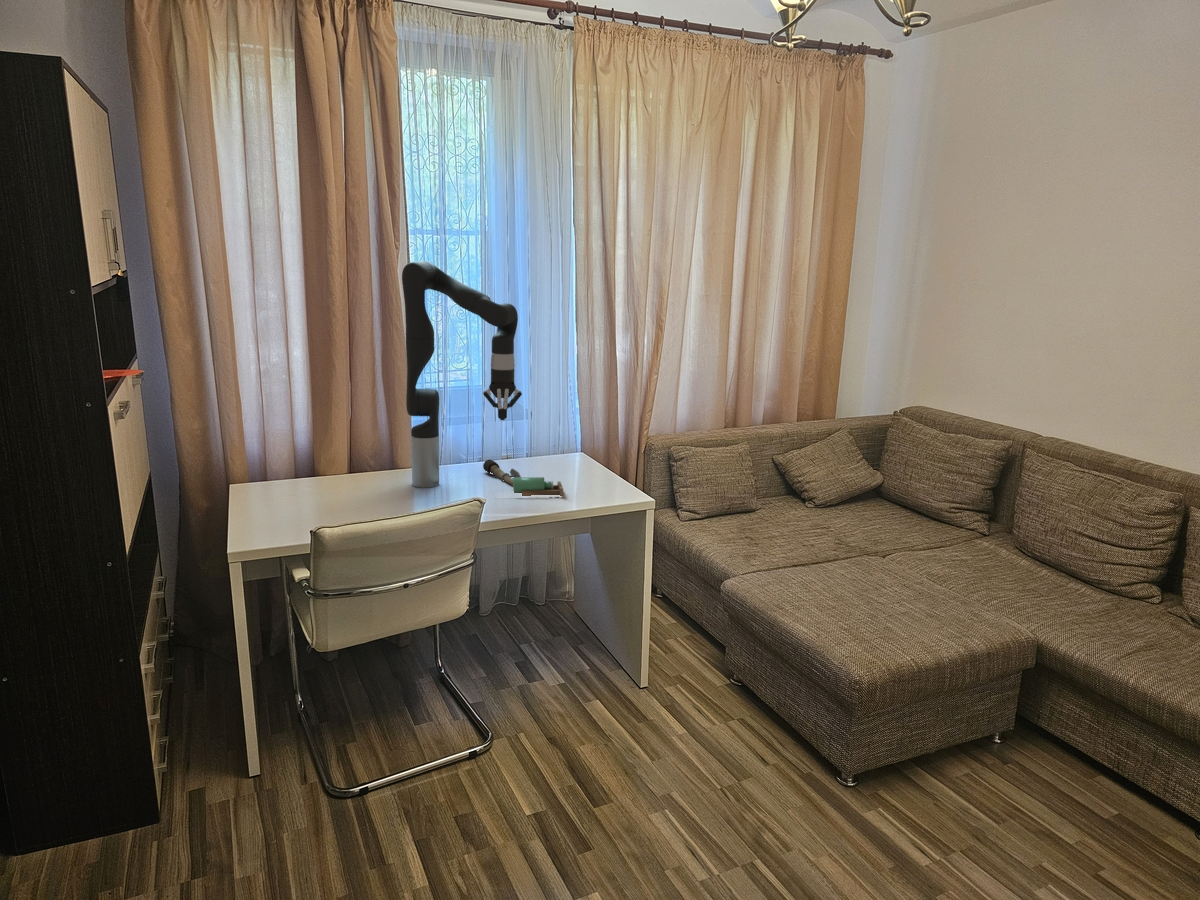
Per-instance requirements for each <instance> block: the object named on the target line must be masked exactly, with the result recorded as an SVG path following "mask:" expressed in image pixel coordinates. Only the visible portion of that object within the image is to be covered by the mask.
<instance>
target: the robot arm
mask: <svg viewBox="0 0 1200 900" xmlns="http://www.w3.org/2000/svg"><path fill="white" fill-rule="evenodd" d="M401 282H402V292H403V299H404V309H405V311H404V312H405V313H404V314H405V315H404V316H405V350H406V352H405V353H406V372H407V373H406V395H405V396H406V397H405V400H406V403H405V404H406V405H405V406H406V411H407V414H408V416H410V417H428V419H427V420H426V421H424V422H422V423H420V424H416V425H414V426H412V428H410V429H411V430H410V435H411V437H410V438H411V443H410V444H411V484H412V486H413V487H417V488H431V487H432V488H433V487H437V486H439V485H440V429H439V428H440V427H439V419H440V417H439V415H440V394H439V391H438V390H437V389H435V388H417V384H418V381H419V379H420V377H421V374H422V372H423V371H424V369H425V368H426V366H427V365H428V364H429V362H430V360H431V358H432V357H433V355H434V352H435V330H434V325H433V324H432V321H431V319H430V317H429V315H428V312H427V309H426V291H427V290H431V291H434V292H439V293H441V294H444V295H445V296H446V297H448V298H449V299H451V301H453V302H454V303H455V304H456V305H458V306H459V307H461V308H462V309H464V310H466V311H468V312H470V313H472V314H475V315H477V316H478V317H480V318H481V319H482V320H483V321H485V322H486V323H488V324H490V325H491V326H493V327H496V332H495V334H494V335H493V336H492V338H491V356H490V357H491V358H490V384H489V386H488V388H487V389H486V390H483V392H482V395H483V396H484V397H485V399H486V400H487V401H488V402H489V403H490V405H491V407H493V408H496V409H497V417H498V419H499V421H506V419H507V418H508V413H507V412H508V409H509V408H513V407H514V405H515V404H516V402H517V401H518V400H519V399H520V398H521V397H522V395H523V393H522V391H521V390H519V389H517V386H516V385H515V367H516V364H515V338H516V337H515V336H516V332H517V327H518V321H519V318H518V317H519V315H518V311H517V309H516V307H515V306H514V305H513V304H511V303H501V304H499V303H497V302H495V301H493V300H491V298H490V297H489V296H488V295H487V294H485V293H483V292H481V291H479V290H477V289H475V288H473V287H471V286H468V285H466V284H465V283H463V282H460V281H459V280H457V279H455V278H454V277H452V276H451V275H450V274H447V272H445V271H443V270H442V269H441V268H440V267H438V266H436V265H435V264H433V263H432V262H430V261H427V260H421V261H411V262H408V263H406V265H404V267H403V268H402V274H401ZM492 394H493V396H494V397H495V398H496V401H497V402H495V400H494V399H493V398H492ZM512 394H513V395H514V396H513V397H512V398H511V399H510V397H511V396H512ZM502 399H503V400H502ZM509 399H510V401H509Z"/></svg>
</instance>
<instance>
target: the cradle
mask: <svg viewBox="0 0 1200 900" xmlns="http://www.w3.org/2000/svg"><path fill="white" fill-rule="evenodd" d="M531 495H560V496H563V497H564V487H563V484H562V482H561V481H557V484H553V489H544V490H522V496H531Z"/></svg>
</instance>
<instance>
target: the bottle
mask: <svg viewBox="0 0 1200 900" xmlns="http://www.w3.org/2000/svg"><path fill="white" fill-rule="evenodd" d="M512 480H513V485H512V487H513V488H512V489H513V490H512V491H514V493H522V490H544V489H553V485H554V481H553V480H551V481H549V480H548V481H545V477H543V476H541V477H538V476H537V477H533V476H532V477H531V476H530V477H527V476H526V477H525V476H524V477H522V476H521V477H514V479H513V478H512Z"/></svg>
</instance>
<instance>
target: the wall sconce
mask: <svg viewBox="0 0 1200 900" xmlns="http://www.w3.org/2000/svg"><path fill="white" fill-rule="evenodd" d="M482 467H483V469H484V471H485V472H486V471H487V472H489V473H490V472H491V473H493V474H495V475H494V476H496V477H498V478H499V477H500V478H499V479H501V481H502V480H504V481H505V483H506V482H507V483H508V484H509V485H512V486H513V478H512V477H522V476H521V474H520V471H517V470H516V469H514V468H513V467H512V468H511V470H510V471H509V473H507V472H506V473H505V472H504V471H503V470H502V469H501V467H500V465H499V464H498V462H496V461H495V460H492V459H487V460H485V461H484V463H483V464H482ZM487 472H486V473H487ZM489 473H488V474H489Z"/></svg>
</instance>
